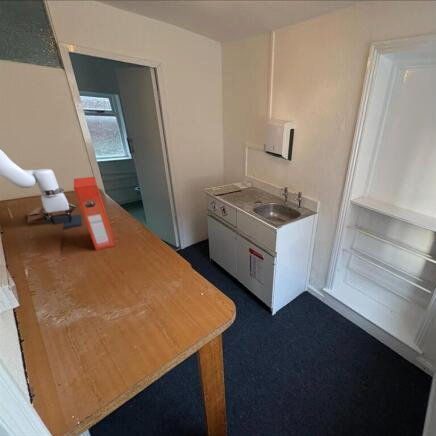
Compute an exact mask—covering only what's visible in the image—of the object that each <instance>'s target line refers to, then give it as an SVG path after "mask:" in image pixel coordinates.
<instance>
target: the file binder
mask: <svg viewBox="0 0 436 436" xmlns="http://www.w3.org/2000/svg"><path fill="white" fill-rule="evenodd" d="M73 190H74V193H75V195H76V198H77V202H78V205H79V207H80V210H81V212H82V215H83V218H84V221H85V223H86V226H87V229H88V232H89V234H90V235H89V236H90V237H91V240H92V243H93V246H94V248H95V251H99V250H101V251H102V250H105V249H108V248H113V247H115V246H116V243H115V239H114V234H113V231H112V228H111V224H110V222H109V221H110V220H109V217H108V215H107V212H106V209H105V206H104V202H103V200H102V196H101V193H100V190H99V186H98V184H97V180H96V177H95V176H86V177H76V178H73Z"/></svg>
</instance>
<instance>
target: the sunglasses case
mask: <svg viewBox="0 0 436 436" xmlns="http://www.w3.org/2000/svg"><path fill="white" fill-rule="evenodd" d="M41 208H42V206H40V207H36V208H35V209H34V210H32V211H31V212H28V213H27V214H26V216H27V222H26V223H27V224H37V223H42V222H43V223H44V221H45V220H47V219H48V218H47V217H48V216H45V215H43V214H40V213H39V211H40V210H41ZM43 212H45V210H44V211H43Z"/></svg>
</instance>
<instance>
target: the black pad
mask: <svg viewBox="0 0 436 436" xmlns="http://www.w3.org/2000/svg"><path fill="white" fill-rule="evenodd" d="M53 221H54V223H55V224H54V223H53V224H54V226H55V225H61V224H64V223H69V222H70V221H69V219H68V216H67V213H66V212H65V213H60V214H54V215H53Z"/></svg>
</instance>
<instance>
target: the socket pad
mask: <svg viewBox="0 0 436 436" xmlns="http://www.w3.org/2000/svg"><path fill="white" fill-rule="evenodd" d="M71 217H72V219H71V221H70V222H69V223H62V224H63V225H62V230H68V229H72V228H78V227H82V222H83V221H82V220H83V219H82V214H80V213H79V214H71ZM49 224H54V223H53V222H51V220H50V218H47V220H45V221H43V225H49Z"/></svg>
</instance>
